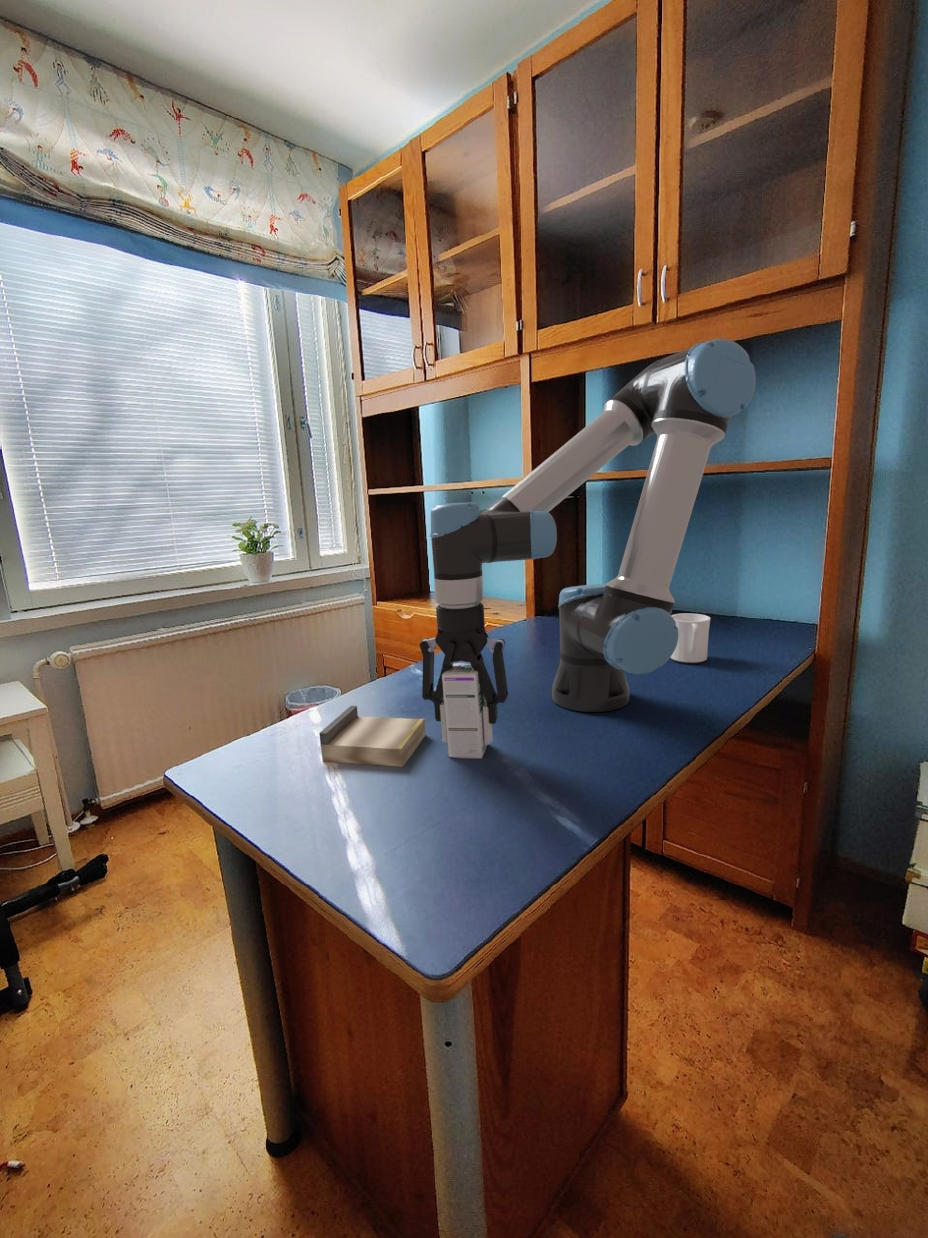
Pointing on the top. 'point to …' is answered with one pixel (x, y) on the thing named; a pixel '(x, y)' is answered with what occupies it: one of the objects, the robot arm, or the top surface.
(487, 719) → the robot arm
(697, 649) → the mug
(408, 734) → the dock
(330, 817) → the top surface
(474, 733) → the syrup box
